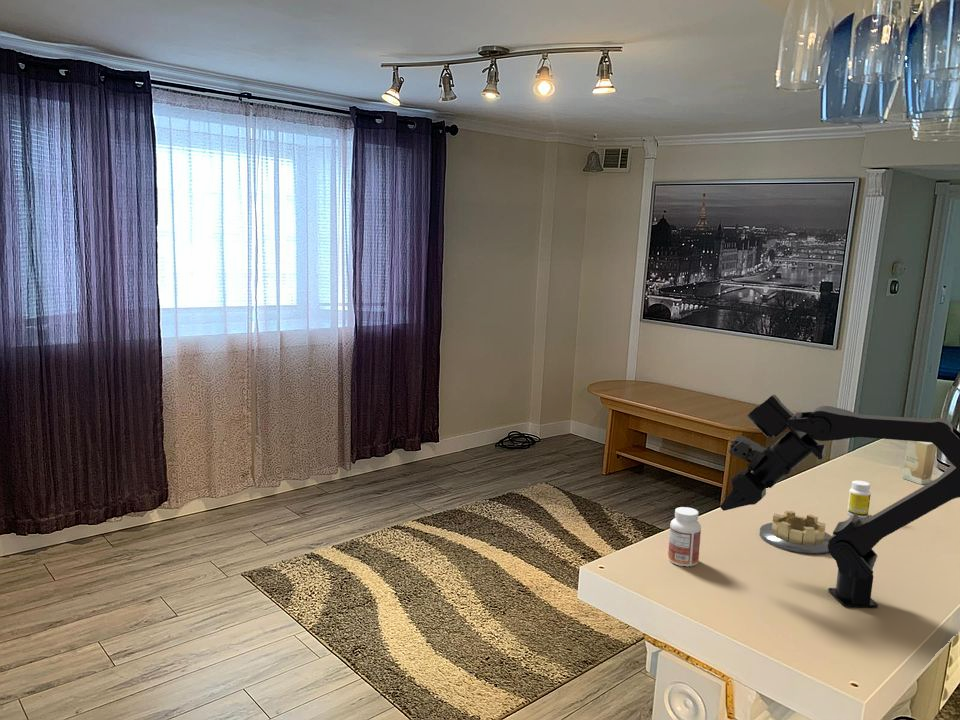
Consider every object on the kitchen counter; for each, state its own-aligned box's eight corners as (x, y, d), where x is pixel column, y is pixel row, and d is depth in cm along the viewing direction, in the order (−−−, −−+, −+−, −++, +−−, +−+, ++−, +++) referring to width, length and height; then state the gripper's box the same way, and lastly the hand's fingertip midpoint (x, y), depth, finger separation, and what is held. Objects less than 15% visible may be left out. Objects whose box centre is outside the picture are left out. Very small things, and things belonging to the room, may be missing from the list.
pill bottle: (688, 553, 155) (692, 504, 154) (704, 566, 150) (708, 515, 148) (662, 556, 154) (666, 506, 152) (676, 568, 148) (681, 517, 146)
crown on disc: (849, 555, 157) (852, 534, 157) (776, 553, 157) (779, 532, 156) (815, 527, 173) (817, 507, 172) (748, 525, 173) (750, 506, 172)
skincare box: (901, 478, 214) (906, 438, 212) (910, 476, 215) (916, 437, 213) (922, 485, 208) (928, 444, 206) (932, 483, 210) (937, 442, 208)
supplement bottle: (870, 519, 180) (874, 486, 178) (850, 517, 180) (853, 484, 179) (864, 512, 184) (868, 480, 183) (844, 510, 185) (848, 478, 184)
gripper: (766, 416, 152) (713, 462, 159) (742, 433, 136) (685, 483, 144) (806, 456, 148) (751, 501, 155) (786, 478, 133) (726, 528, 140)
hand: (728, 502), depth 149 cm, fingers open, 9 cm apart
